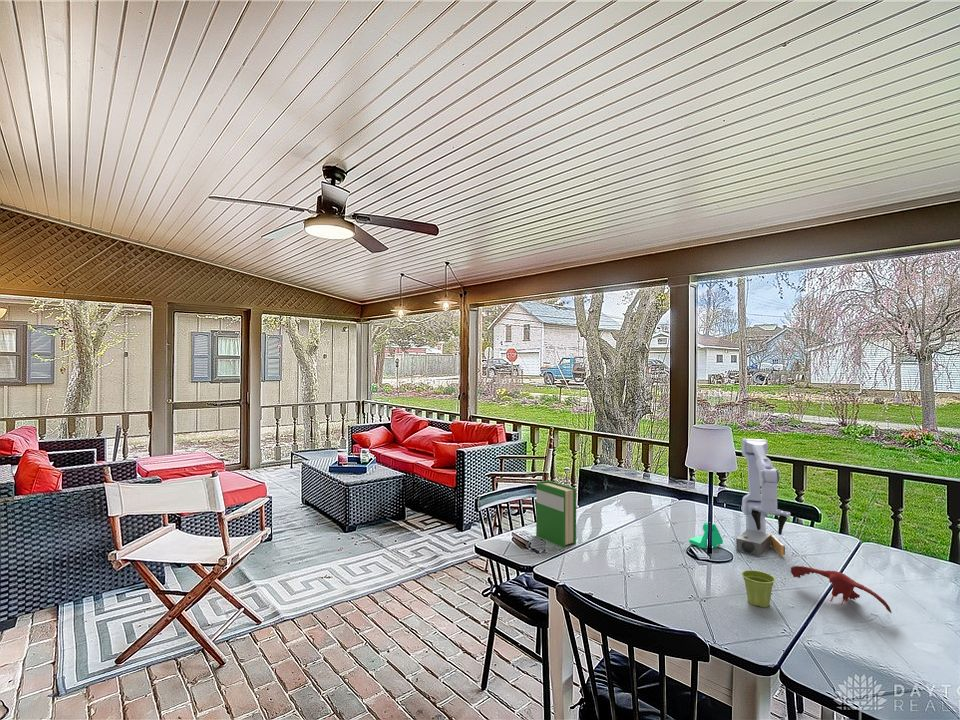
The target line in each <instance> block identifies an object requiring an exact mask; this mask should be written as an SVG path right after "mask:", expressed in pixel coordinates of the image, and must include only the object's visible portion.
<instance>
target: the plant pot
mask: <svg viewBox="0 0 960 720" xmlns="http://www.w3.org/2000/svg"><path fill="white" fill-rule="evenodd" d="M741 576H742V577H743V580H744V585H745V591H746V597H747V602H748V603H749V604H751V605H753V606H758V607H760V608H767V607H769V606H770V604H771V598H772V591H773V586H774V583H775V582H776V578H775V577H774V575H771V574H770V573H767V572H764V571H760V570H752V569H748V570H743V571H742V572H741Z"/></svg>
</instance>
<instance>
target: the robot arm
mask: <svg viewBox="0 0 960 720" xmlns="http://www.w3.org/2000/svg"><path fill="white" fill-rule="evenodd" d="M740 447H741V456H743V457H745V459H746V464H747V466H746V467H747V481H748V483H747V484H748V487H747V488H748V493H747V494H745V495H743V497H742V500H741V509H742V510H741V511H742V514H744V515H745V531H746V530H748V529H749V530H754V531H758V532H763V533H767V532H766V530H767V529H766V527H767V526H766V524H767V523H766V522H767V521H766V517H768V515H771V516H778V517H777V523H778V529H777V530H778V531H777V532H778V535H782V534H783V529H784V526H785V523H786V522H787V520H788V519H790V518H791V512H790V511H785V510H782V509H778V485H779V483H780V472H779V469H777V468H776V467H774V465H773V463H772V461H771V459H770V458H769V457H767V453H768V451H769V443H768V440H767V439H766V438H764V439H760V438H745V437H743V438H742V439H741V445H740Z"/></svg>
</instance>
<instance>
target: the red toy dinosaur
mask: <svg viewBox="0 0 960 720" xmlns="http://www.w3.org/2000/svg"><path fill="white" fill-rule="evenodd" d="M810 573H811V574H818V575H820V576H823V577H825V578H827V579H828V580H829V583H830V584H831V583H832V590H831V595H832V596H831V598H830V599H829V601H830V602H831V603H832V602H833V600H834V598H836V597H838V595H840V594H842V601H841V602H840V603H839V605H840V606H844V603H845V601H848V600H849V599H850V600H853V601H857V599H859V598H861V595H860V594H858V593H857V592H856V591H855V590H854V588H857V589H859V590H862V591H863V592H866V593H867V594H870V595H871V597H872V596H873V598H875V599H876V600H877V601H878V602H880V603H881V604H882V605H883V606H884V607H885V609H886V610H887V611H888V613H890V614H893V613H892V609H891V608H890V606H889V604H888V603H887V601H885V600H884V599H883V598H882V596H880V595H879V594H878V593H876V592H875V591H873V590H872V589H870V588H868V587H866V586H864V585H863V584H860V583H859V582H858V581H857V582H856V581H855V580H854V579H852V578H851V577H850V576H848V575H846V574H845V573H843V572H840V571H836V570H822V569H818V568H813V567H808V566H804V565H803V566H802V565H797V566H792V567H790V574H791V575H792V577H793V578H798V579H801V576H802V577H804V576H805V575H810Z"/></svg>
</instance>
